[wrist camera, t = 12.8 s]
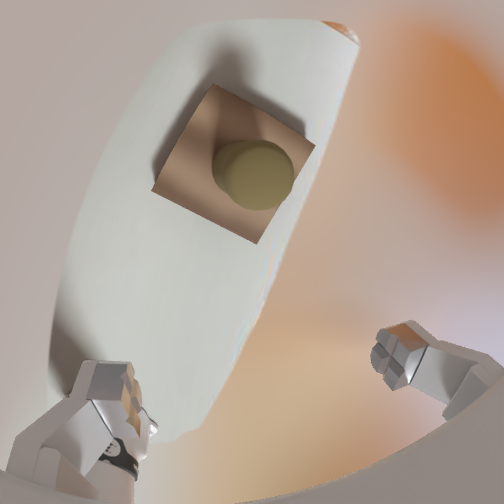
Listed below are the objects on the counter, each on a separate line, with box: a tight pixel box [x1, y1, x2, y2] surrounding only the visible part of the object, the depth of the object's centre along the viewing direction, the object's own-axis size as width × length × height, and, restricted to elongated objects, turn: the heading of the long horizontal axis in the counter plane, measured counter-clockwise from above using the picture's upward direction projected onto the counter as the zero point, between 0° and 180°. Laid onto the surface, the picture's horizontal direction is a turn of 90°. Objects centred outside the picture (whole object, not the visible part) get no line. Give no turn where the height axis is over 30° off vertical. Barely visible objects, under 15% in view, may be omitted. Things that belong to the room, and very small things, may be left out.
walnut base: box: [151, 84, 316, 244], centre depth 29 cm, size 13×13×3 cm
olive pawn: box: [212, 140, 294, 211], centre depth 23 cm, size 6×6×11 cm
